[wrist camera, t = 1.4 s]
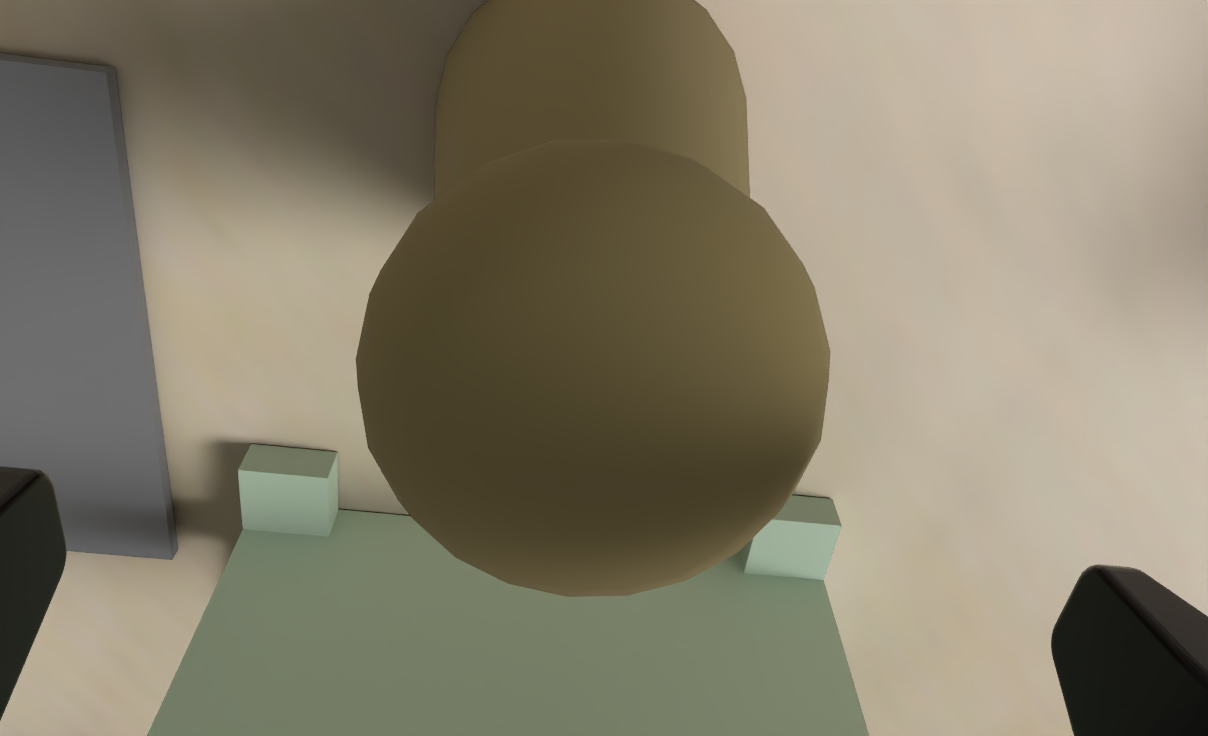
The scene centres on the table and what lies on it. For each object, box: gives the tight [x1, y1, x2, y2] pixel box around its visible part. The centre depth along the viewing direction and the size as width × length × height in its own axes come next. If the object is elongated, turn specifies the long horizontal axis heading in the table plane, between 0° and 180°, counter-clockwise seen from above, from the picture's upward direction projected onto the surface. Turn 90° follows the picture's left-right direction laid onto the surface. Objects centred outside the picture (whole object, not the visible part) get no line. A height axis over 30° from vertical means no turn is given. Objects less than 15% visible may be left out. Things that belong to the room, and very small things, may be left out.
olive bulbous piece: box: [356, 0, 830, 597], centre depth 14 cm, size 6×6×11 cm
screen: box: [147, 444, 869, 736], centre depth 21 cm, size 5×14×9 cm, turn 83°
